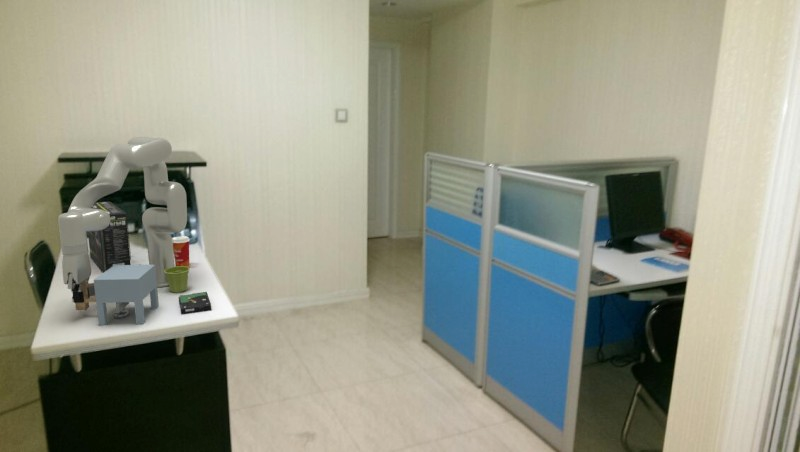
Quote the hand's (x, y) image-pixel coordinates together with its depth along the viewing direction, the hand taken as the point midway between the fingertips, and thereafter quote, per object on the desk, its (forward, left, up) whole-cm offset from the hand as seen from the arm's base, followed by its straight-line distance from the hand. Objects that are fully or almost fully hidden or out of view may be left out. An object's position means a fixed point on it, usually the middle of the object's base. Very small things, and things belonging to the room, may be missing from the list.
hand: (81, 299), depth 180 cm
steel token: (0, +12, -6) cm, 14 cm away
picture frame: (-25, -3, -7) cm, 26 cm away
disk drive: (-8, +35, -7) cm, 37 cm away
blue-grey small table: (0, +15, -6) cm, 17 cm away
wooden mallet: (0, +6, -3) cm, 7 cm away
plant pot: (-25, +24, -6) cm, 35 cm away
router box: (-61, -16, -6) cm, 64 cm away
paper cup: (-55, +17, -6) cm, 58 cm away
